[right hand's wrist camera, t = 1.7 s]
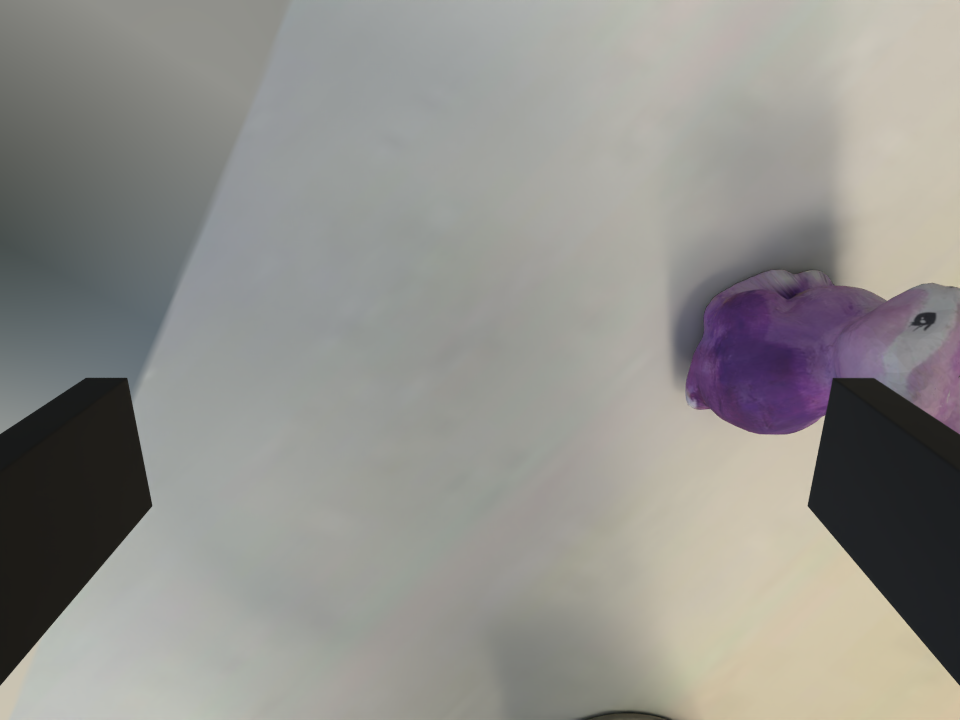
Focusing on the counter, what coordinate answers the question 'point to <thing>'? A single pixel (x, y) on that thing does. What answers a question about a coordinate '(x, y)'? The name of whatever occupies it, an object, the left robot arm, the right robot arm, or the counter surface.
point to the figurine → (822, 349)
